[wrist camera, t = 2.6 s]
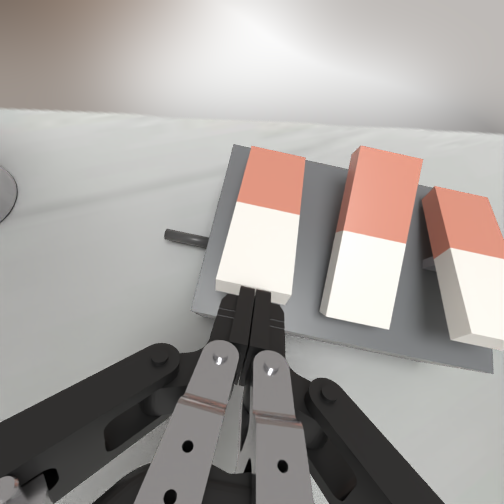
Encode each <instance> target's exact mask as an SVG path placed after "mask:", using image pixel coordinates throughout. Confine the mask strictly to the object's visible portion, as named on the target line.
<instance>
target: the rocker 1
mask: <svg viewBox="0 0 504 504" xmlns="http://www.w3.org/2000/svg"><path fill="white" fill-rule="evenodd" d="M305 159H306V158H305V157H300V156H295V155H291V154H286V153H282V152H277V151H273V150H268V149H263V148H259V147H254V146H251V150H250V154H249V158H248V161H247V165H246V169H245V172H244V176H243V180H242V184H241V187H240V191H239V195H238V198H237V202H236V206H235V210H234V213H233V217H232V221H231V224H230V228H229V232H228V236H227V239H226V243H225V247H224V250H223V254H222V258H221V262H220V265H219V269H218V273H217V276H216V291H221V292H226V293H230V294H235V295H239V292H240V287H241V286H245V287H250V288H255V292H256V289H260V290H264V291H269V292H271V302H273V303H278V304H283V305H285V304H286V303H287V301H288V300H289V298H290V297H291V295H292V285H293V275H294V266H295V256H296V246H297V237H298V227H299V217H300V208H301V198H302V188H303V179H304V169H305Z"/></svg>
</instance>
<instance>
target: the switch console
mask: <svg viewBox="0 0 504 504" xmlns="http://www.w3.org/2000/svg"><path fill="white" fill-rule="evenodd" d="M250 150H251V148H249V147H244V146H239V145H235V144H234V145H233V149H232V152H231V156H230V160H229V164H228V168H227V172H226V176H225V179H224V183H223V187H222V191H221V195H220V199H219V203H218V206H217V210H216V214H215V218H214V222H213V226H212V230H211V233H210V237H209V238H208V237H203V236H198V235H194V234H189V233H184V232H180V231H175V230H170V229H166V231H165V235H164V238H165V239H167V240H171V241H176V242H181V243H185V244H190V245H195V246H200V247H204V248H207V249H206V253H205V257H204V260H203V264H202V268H201V272H200V276H199V280H198V284H197V287H196V291H195V295H194V299H193V303H192V307H191V311H192V312H194V313H196V314H199V315H201V316H204V317H208V318H213V319H216V316H217V312H218V309H219V306H220V303H221V299H222V298H224V297H225V296H226V295H227V294H230V293H226V292H221V291H216V276H217V273H218V269H219V265H220V262H221V258H222V254H223V250H224V247H225V243H226V239H227V236H228V232H229V228H230V224H231V221H232V217H233V213H234V210H235V206H236V202H237V198H238V195H239V191H240V187H241V184H242V180H243V176H244V172H245V169H246V165H247V161H248V158H249V154H250ZM348 170H349V169H345V168H340V167H335V166H331V165H326V164H322V163H317V162H313V161H308V160H305V169H304V179H303V188H302V198H301V208H300V217H299V227H298V237H297V246H296V256H295V266H294V275H293V285H292V295H291V297H290V298H289V300H288V301H287V303H286V304H285V305H283V304H279V305H280V306H281V308H282V310H283V311H284V323H285V329H284V330H285V334H290V335H295V336H299V337H304V338H309V339H314V340H319V341H323V342H328V343H333V344H338V345H343V346H347V347H352V348H357V349H362V350H367V351H371V352H376V353H381V354H386V355H390V356H395V357H400V358H405V359H410V360H414V361H419V362H425V363H431V364H437V365H443V366H449V367H455V368H461V369H467V370H473V371H479V372H485V373H491V374H493V354H492V349H491V348H486V347H482V346H477V345H472V344H467V343H463V342H458V341H453V340H450V335H449V330H448V325H447V321H446V316H445V311H444V306H443V301H442V297H441V292H440V287H439V282H438V277H437V272H436V268H435V263H434V258H433V253H432V248H431V243H430V239H429V234H428V229H427V224H426V219H425V215H424V210H423V205H422V199H423V198H424V197H425V196H426V195H427V194H428V193H429V192H430V191H431V190H432V189H433V188H431V187H427V186H422V185H418V187H417V192H416V197H415V202H414V207H413V212H412V217H411V222H410V227H409V232H408V237H407V242H406V247H405V252H404V257H403V262H402V267H401V272H400V277H399V282H398V287H397V293H396V298H395V303H394V308H393V313H392V318H391V323H390V328H389V330H388V329H383V328H378V327H374V326H369V325H364V324H359V323H355V322H350V321H345V320H340V319H335V318H331V317H326V316H325V315H323V314H322V313H320V312H319V311H320V306H321V301H322V296H323V291H324V287H325V282H326V277H327V272H328V267H329V262H330V257H331V253H332V248H333V243H334V238H335V233H336V228H337V223H338V218H339V214H340V209H341V204H342V199H343V194H344V189H345V184H346V179H347V175H348ZM232 295H235V294H232ZM237 296H239V295H237ZM271 303H273V302H271ZM274 304H278V303H274Z"/></svg>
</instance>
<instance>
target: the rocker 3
mask: <svg viewBox="0 0 504 504" xmlns="http://www.w3.org/2000/svg"><path fill="white" fill-rule="evenodd" d="M422 205H423V210H424V215H425V219H426V224H427V229H428V234H429V239H430V243H431V248H432V253H433V258H434V263H435V268H436V272H437V277H438V282H439V287H440V292H441V297H442V301H443V306H444V311H445V316H446V321H447V325H448V330H449V335H450V340H453V341H458V342H463V343H467V344H472V345H477V346H482V347H486V348H491V349H496V350H501V351H504V239H503V237H502V234H501V231H500V229H499V226H498V223H497V221H496V218H495V216H494V213H493V210H492V208H491V205H490V202H489V200H488V198H487V197H482V196H478V195H473V194H469V193H464V192H459V191H455V190H450V189H446V188H441V187H437V186H434V187H433V189H432V190H431V191H430V192H429V193H428V194H427V195H426V196H425V197H424V198H423V199H422Z"/></svg>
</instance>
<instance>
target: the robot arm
mask: <svg viewBox="0 0 504 504" xmlns="http://www.w3.org/2000/svg"><path fill="white" fill-rule="evenodd" d="M16 194H17V189H16V183H15V181H14V179H13V177H12V176H11V175H10V173H9V172H8V171H6V170H5V169H3V168H2V167H1V166H0V221H1V220H3V219H4V218H5V217H6V215H7V214H8V213H9V212H10V210H11V209H12V207H13V205H14V202H15V199H16ZM284 329H285V323H284V311H283V310H282V308H281V306H280V305H279V304H274V303H271V292H269V291H264V290H260V289H256V292H255V288H250V287H245V286H241V287H240V292H239V296H237V295H232V294H227V295H226V296H225V297H224V298H222V299H221V303H220V306H219V309H218V312H217V316H216V319H215V322H214V326H213V329H212V332H211V336H210V339H209V341H208V343H207V344H206V346H205V347H203V348H202V349H200V350H198V351H195V352H190V353H179V352H178V350H177V349H176V348H175V347H174V346H172V345H170V344H166V343H158V344H153V345H151V346H149V347H147V348H145V349H143V350H141V351H139V352H137V353H135V354H133V355H131V356H129V357H127V358H125V359H123V360H121V361H119V362H117V363H115V364H114V365H112V366H110V367H108V368H106V369H104V370H102V371H100V372H98V373H96V374H94V375H92V376H90V377H88V378H86V379H84V380H82V381H80V382H78V383H76V384H74V385H73V386H71V387H69V388H67V389H65V390H63V391H61V392H59V393H57V394H55V395H53V396H51V397H49V398H47V399H45V400H43V401H41V402H39V403H37V404H35V405H34V406H32V407H30V408H28V409H26V410H24V411H22V412H20V413H18V414H16V415H14V416H12V417H10V418H8V419H6V420H4V421H2V422H0V504H54V503H55V502H56V501H58V500H59V499H60V498H62V497H63V496H64V495H66V494H67V493H69V492H70V491H71V490H73V489H74V488H75V487H77V486H78V485H79V484H81V483H82V482H83V481H85V480H86V479H87V478H89V477H90V476H91V475H93V474H94V473H95V472H97V471H98V470H99V469H101V468H102V467H103V466H105V465H106V464H107V463H109V462H110V461H111V460H113V459H114V458H115V457H117V456H118V455H119V454H121V453H122V452H123V451H125V450H126V449H127V448H129V447H130V446H131V445H133V444H134V443H135V442H137V441H138V440H139V439H141V438H142V437H143V436H145V435H146V434H147V433H149V432H150V431H151V430H153V429H154V428H155V427H157V426H158V425H159V424H161V423H162V422H163V421H165V420H166V419H167V418H169V417H170V415H171V414H172V416H171V418H170V420H169V423H168V425H167V427H166V430H165V432H164V434H163V437H162V439H161V441H160V444H159V446H158V448H157V451H156V453H155V455H154V458H153V460H152V462H151V463H149V464H147V465H144V466H142V467H139V468H137V469H136V470H134V471H132V472H130V473H129V474H127V475H126V476H124V477H123V478H122V479H120V480H119V481H118V482H117V483H116V484H114V485H113V486H112V487H111V488H110V489H109V490H107V491H106V492H105V493H104V494H103V495H102V496H101V497H99V498H98V499H97V500H96V501H95V502H94V503H92V504H314V500H313V493H312V486H311V479H310V474H311V476H312V477H313V479H314V480H315V482H316V483H317V485H318V487H319V488H320V490H321V491H322V493H323V494H324V496H325V498H326V499H327V501H328V502H329V504H445V503H444V502H443V501H442V500H441V499H440V498H439V497H438V496H437V495H436V493H435V492H434V491H433V490H432V489H431V488H430V487H429V486H428V484H427V483H426V482H425V481H424V480H423V479H422V478H421V477H420V476H419V474H418V473H417V472H416V471H415V470H414V469H413V468H412V467H411V465H410V464H409V463H408V462H407V461H406V460H405V459H404V458H403V456H402V455H401V454H400V453H399V452H398V451H397V450H396V449H395V448H394V446H393V445H392V444H391V443H390V442H389V441H388V440H387V439H386V437H385V436H384V435H383V434H382V433H381V432H380V431H379V430H378V429H377V427H376V426H375V425H374V424H373V423H372V422H371V421H370V420H369V418H368V417H367V416H366V415H365V414H364V413H363V412H362V411H361V410H360V408H359V407H358V406H357V405H356V404H355V403H354V402H353V401H352V399H351V398H350V397H349V396H348V395H347V394H346V393H345V392H344V391H343V389H342V388H341V387H340V386H339V385H338V384H336V383H335V382H333V381H332V380H329V379H326V378H317V379H314V380H313V381H312V382H310V381H309V380H307V379H305V378H303V377H301V376H299V375H298V374H296V373H295V372H294V371H293V370H292V369H291V368H290V367H289V364H288V362H287V361H286V358H285V330H284ZM240 372H241V373H240ZM239 376H240V380H239ZM238 380H239V385H241V386H244V393H243V398H242V401H241V406H240V422H239V440H238V457H237V464H236V470H235V474H229V473H227V472H225V471H223V470H221V469H219V468H218V467H216V466H214V465H212V461H213V457H214V453H215V449H216V445H217V442H218V438H219V434H220V430H221V426H222V422H223V418H224V414H225V411H226V407H227V403H228V401H229V400H230V397H231V394H232V390H233V386H234V384H235V385H237V383H238Z"/></svg>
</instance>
